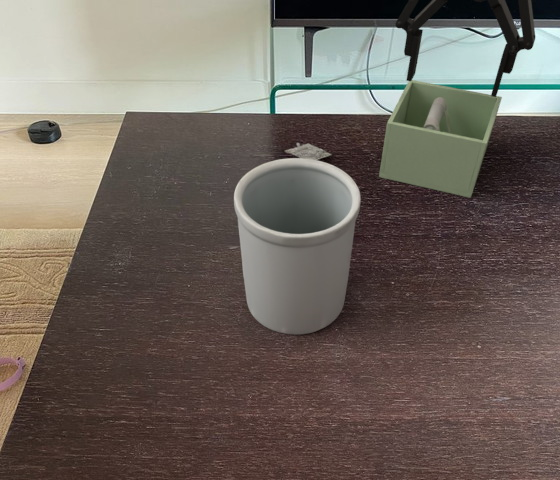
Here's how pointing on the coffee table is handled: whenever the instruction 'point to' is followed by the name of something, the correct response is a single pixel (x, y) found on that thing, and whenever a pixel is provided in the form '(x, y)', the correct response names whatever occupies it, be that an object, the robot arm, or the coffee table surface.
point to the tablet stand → (438, 115)
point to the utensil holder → (296, 242)
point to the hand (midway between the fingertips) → (452, 84)
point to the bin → (438, 138)
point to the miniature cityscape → (311, 154)
